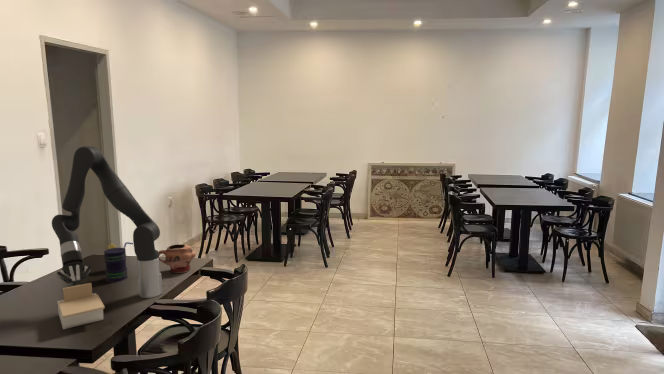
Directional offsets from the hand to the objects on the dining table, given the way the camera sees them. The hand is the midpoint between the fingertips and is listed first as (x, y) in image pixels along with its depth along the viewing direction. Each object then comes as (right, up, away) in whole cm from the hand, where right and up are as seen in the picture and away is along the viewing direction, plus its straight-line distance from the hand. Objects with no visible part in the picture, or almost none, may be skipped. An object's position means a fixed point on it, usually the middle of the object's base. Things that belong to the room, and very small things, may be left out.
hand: (77, 290), depth 178 cm
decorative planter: (+22, -3, +54) cm, 58 cm away
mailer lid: (+5, -5, -6) cm, 9 cm away
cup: (-10, -2, +57) cm, 58 cm away
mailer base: (+2, -11, -2) cm, 11 cm away
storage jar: (-5, -5, +43) cm, 43 cm away
